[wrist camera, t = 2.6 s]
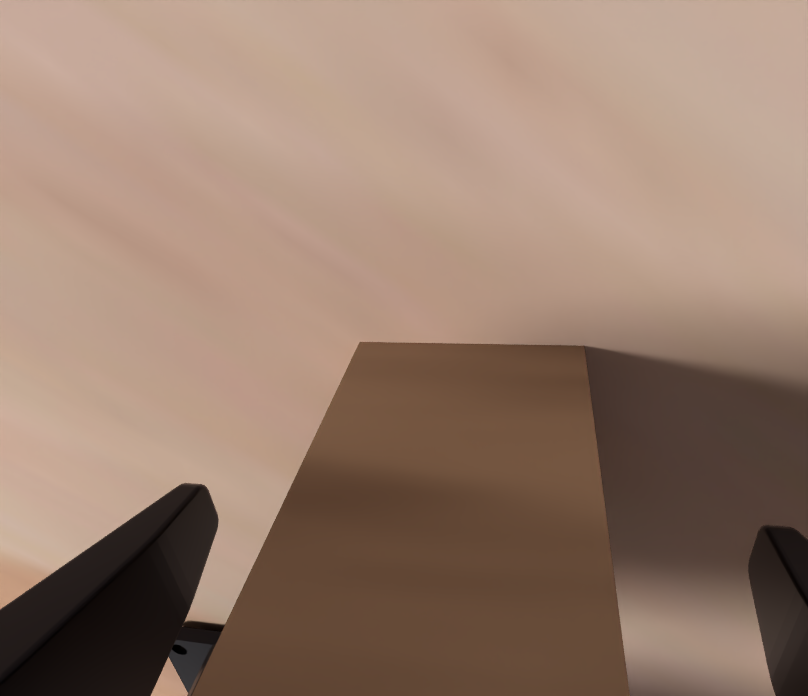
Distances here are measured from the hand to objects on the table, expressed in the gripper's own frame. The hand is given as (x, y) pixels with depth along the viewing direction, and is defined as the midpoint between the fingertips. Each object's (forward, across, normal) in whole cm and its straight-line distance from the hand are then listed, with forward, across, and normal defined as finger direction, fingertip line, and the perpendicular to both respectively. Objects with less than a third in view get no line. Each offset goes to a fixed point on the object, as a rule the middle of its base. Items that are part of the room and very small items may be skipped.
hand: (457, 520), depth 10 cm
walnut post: (+2, 0, 0) cm, 2 cm away
